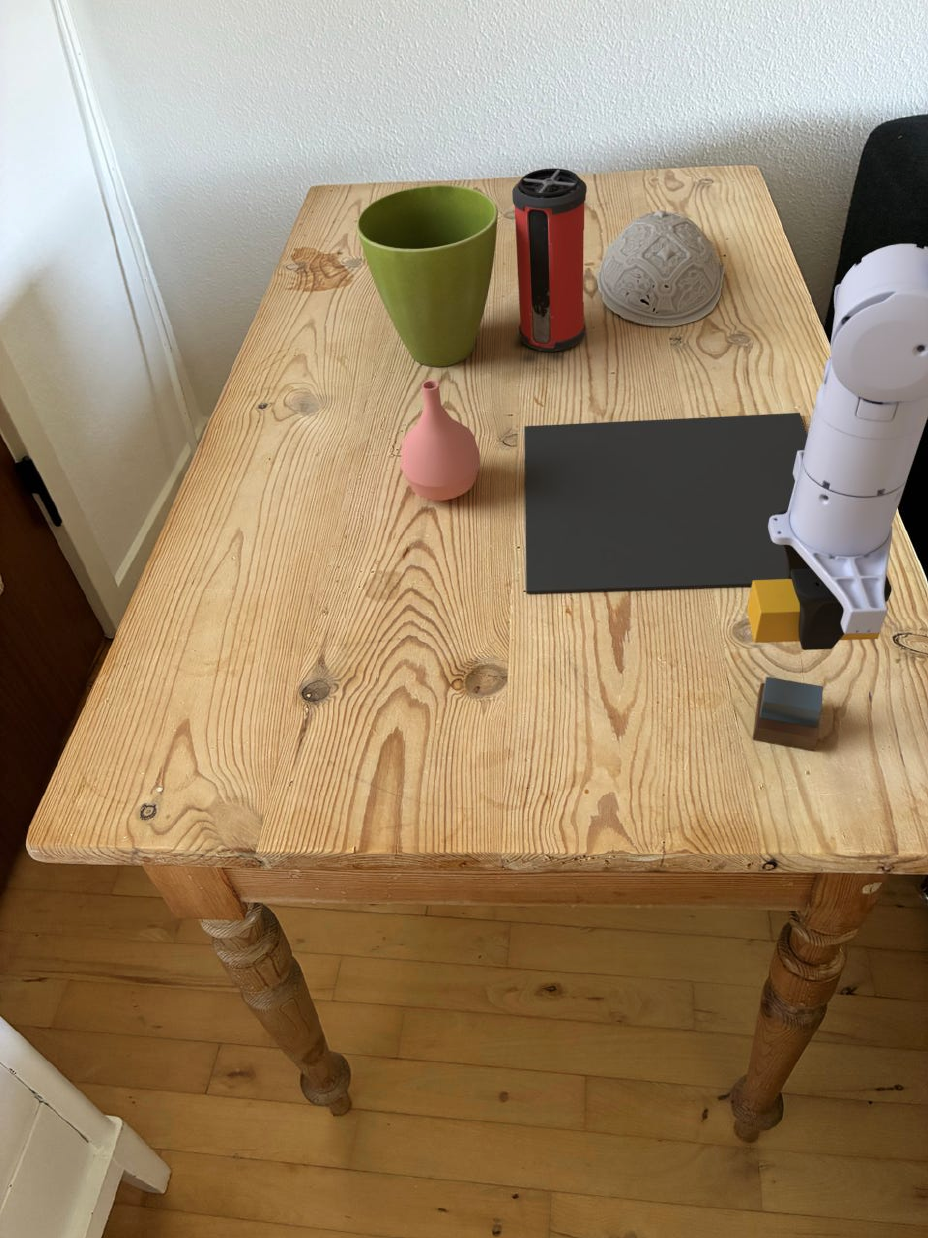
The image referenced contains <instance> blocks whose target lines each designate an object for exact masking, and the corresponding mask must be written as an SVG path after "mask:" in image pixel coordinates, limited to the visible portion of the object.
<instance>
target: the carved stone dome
mask: <svg viewBox="0 0 928 1238" xmlns="http://www.w3.org/2000/svg"><path fill="white" fill-rule="evenodd" d="M725 268H726V266H725V265H724V263H722V262H721V260H720V257H719V255H718V252H717V251H716V249H715V248H714V243H713V242H712V241H711V240H710V238H708V236H707V235H706V234H705V233H704V232H703V230H701V228H700V227H699V226H698V225H697V224H696V223H695V221H694V220H692V219H690V218H688V217H687V216H685V215H682V214H679V213H677V212H672V211H666V210H663V209H659V210H656V211H651V212H647V213H645V214H643V215H641V216H638V217H637V218H635V219H633V220H631V221H629V223H627V224H626V225H625V227H624V228H623V229H622V231H621V232H620V233H619V234H618V236H617V237H616V238H615V239H614V240H613V241H612V242H610V243H609V245H608V246H607V247H606V250H605V254H604V257H603V258H602V261H601V262H600V265H599V267H598V269H599V271H598V272H597V277H596V284H597V288H598V291H599V292H600V293H601V295H602V302H603V303H604V304H605V306H606V307H607V308H608V309H610V310H611V311H612V312H613V313H614V314H616V315H618V316H620V317H621V318H622V319H624V320H627V321H629V322H633V323H635V324H639V325H644V326H648V327H649V326H650V327H668V328H671V327H673V328H674V327H679V326H684V325H688V324H690V323H694V322H698V321H700V320H701V319H704V317H706V316H707V315H709V314H710V313H711V312H712V311H714V309H715V307H716V305H717V304H718V302H719V300H720V298H721V296H722V289H723V281H724V280H725V278H724V274H725V273H726V269H725ZM641 300H644V301H645V302H642V301H641ZM647 303H648V304H647Z"/></svg>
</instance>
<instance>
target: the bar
mask: <svg viewBox="0 0 928 1238" xmlns="http://www.w3.org/2000/svg"><path fill="white" fill-rule="evenodd" d="M886 606H887V609H888V610H889V606H888V604H887V602H886ZM746 613H747V617H748V618H747V619H748V621H749V626H750V630H751V634H752V639H753V643H755V644H762V643H795V642H796V643H797V642H799V643H800V639H799V616H800V604H799V600H798V598H797V596H796V593H795V590H794V586H793V583H792V579H776V580H753V582H752V587H750V591H749V598H748V602H747V607H746ZM880 634H881V632H880V633H868V634H844V635H843V636H842V638H841V639H840V640H839V641H861V640H878V639H879V637H880Z"/></svg>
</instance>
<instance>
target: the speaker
mask: <svg viewBox="0 0 928 1238" xmlns="http://www.w3.org/2000/svg"><path fill="white" fill-rule="evenodd" d="M587 191H588V190H587V184H586V182H585V181H584V180H583V179H581V177H580V176H578V174H576V173H575V172H574V171H571V170H569V169H565V168H557V167H555V168H553V167H552V168H550V167H549V168H543V169H542V168H541V169H538V170H537V169H536V170H533V171H531V172H528V173H527V174H525V175H524V176H522V178H520V180H519V181H518V182H517V183H516V184H515V185H514V187H513V188H512V190H511V192H512V193H511V194H512V195H511V197H512V203H513V205H514V223H515V240H516V241H515V242H516V261H517V262H516V263H517V264H516V265H517V266H516V267H517V285H518V307H519V325H518V335H519V336H518V337H519V339H520V341H521V342H522V343H523V345H525V346H526V347H529V348H530V349H534V350H537V351H540V352H542V353H556V352H560V351H563V350H570V349H571V348H573V347H575V346H576V345H578V344H579V343H581V342H582V340H583V339H584V337H585V336H586V325H585V324H584V322H585V321H584V316H585V315H584V309H585V307H584V306H585V302H584V250H585V249H584V247H585V246H584V245H585V243H584V239H585V238H584V235H585V234H584V233H585V202H586V200H587V198H586V197H587Z"/></svg>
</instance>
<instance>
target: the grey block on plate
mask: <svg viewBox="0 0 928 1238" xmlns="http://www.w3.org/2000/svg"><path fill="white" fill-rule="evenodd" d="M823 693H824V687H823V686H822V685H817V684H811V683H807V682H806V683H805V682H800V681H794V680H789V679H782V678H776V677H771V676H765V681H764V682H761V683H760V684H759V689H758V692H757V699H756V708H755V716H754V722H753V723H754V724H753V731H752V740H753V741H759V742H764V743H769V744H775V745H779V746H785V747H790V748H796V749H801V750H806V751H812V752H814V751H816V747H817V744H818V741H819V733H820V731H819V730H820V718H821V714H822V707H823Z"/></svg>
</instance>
